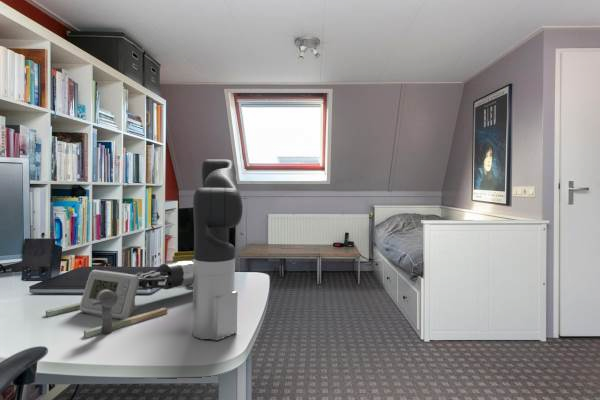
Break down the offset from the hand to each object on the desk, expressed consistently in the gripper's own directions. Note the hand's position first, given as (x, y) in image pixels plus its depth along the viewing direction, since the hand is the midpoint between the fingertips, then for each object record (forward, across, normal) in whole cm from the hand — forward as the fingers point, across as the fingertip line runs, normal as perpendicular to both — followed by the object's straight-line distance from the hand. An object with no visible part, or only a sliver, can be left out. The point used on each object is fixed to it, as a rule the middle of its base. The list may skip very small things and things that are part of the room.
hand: (121, 285), depth 97 cm
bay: (+3, +1, +7) cm, 8 cm away
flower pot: (-32, -16, +7) cm, 37 cm away
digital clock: (+3, 0, +7) cm, 8 cm away
